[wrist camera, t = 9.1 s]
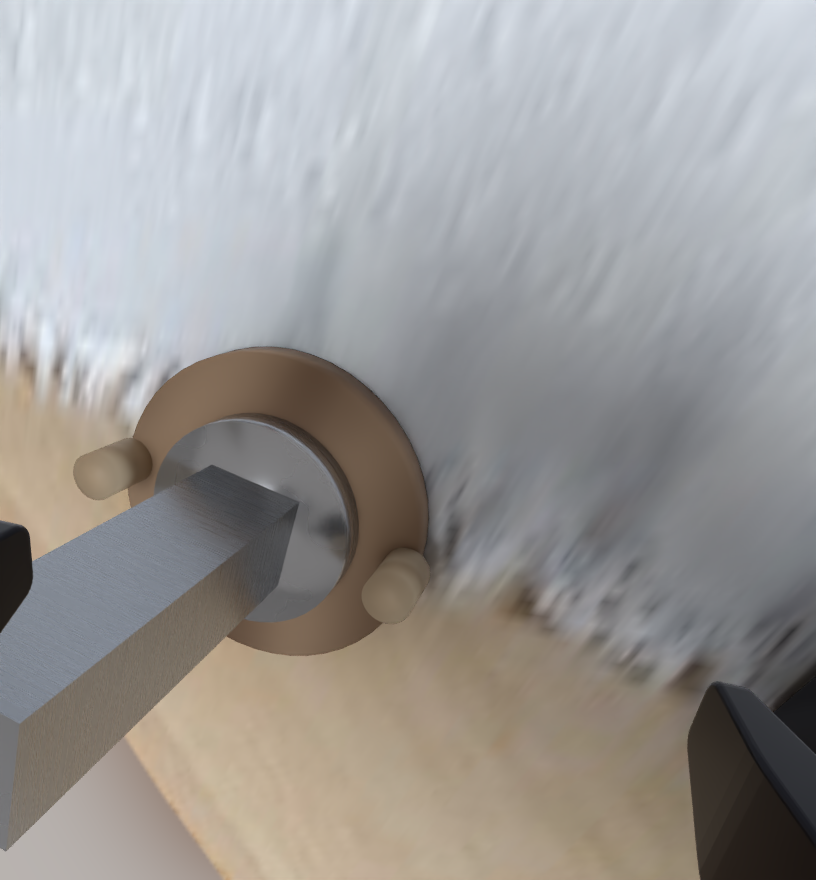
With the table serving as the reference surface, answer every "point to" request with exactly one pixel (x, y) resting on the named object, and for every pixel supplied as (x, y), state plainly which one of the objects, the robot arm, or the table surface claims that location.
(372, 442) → the post base
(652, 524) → the table surface
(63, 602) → the silver block on disc
